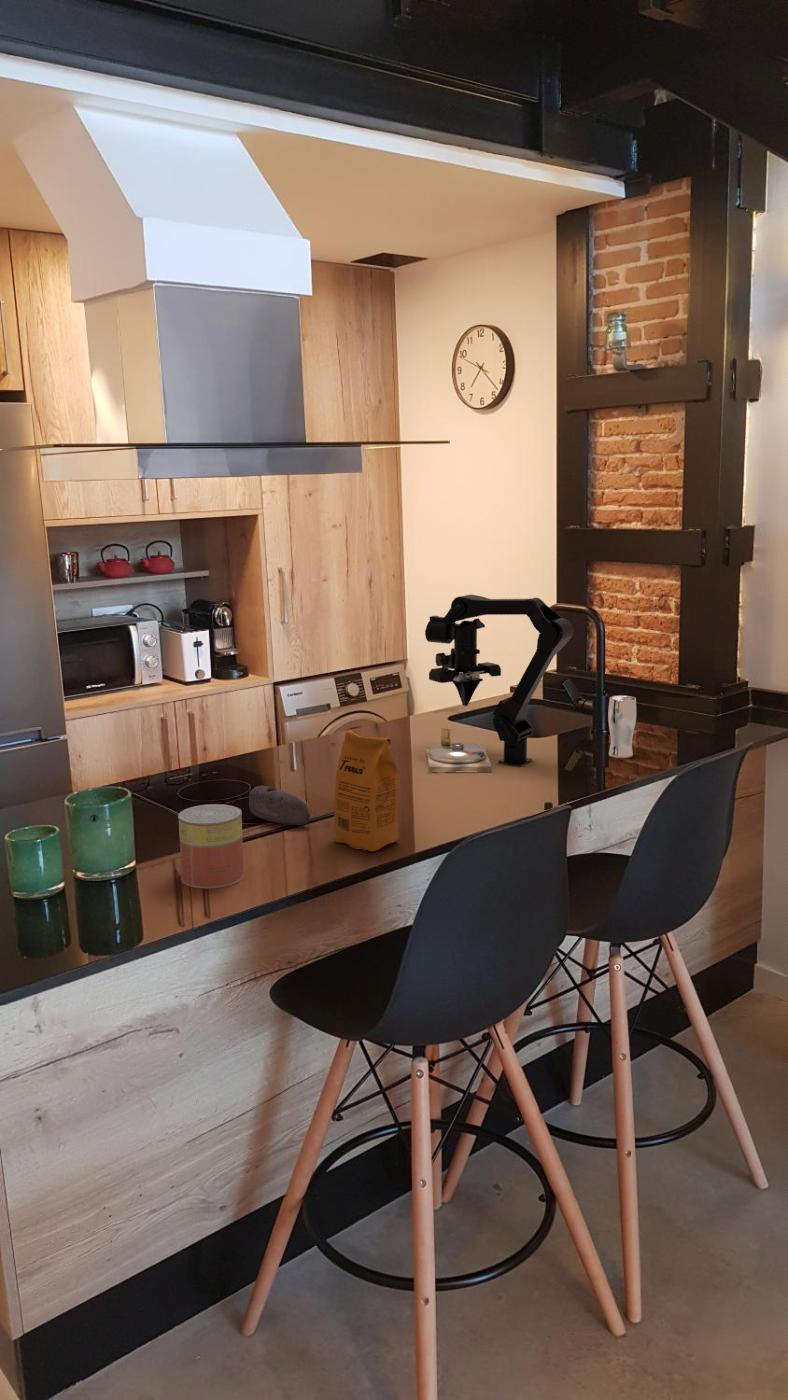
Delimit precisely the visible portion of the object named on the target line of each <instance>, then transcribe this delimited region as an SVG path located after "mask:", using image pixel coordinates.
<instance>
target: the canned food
mask: <svg viewBox="0 0 788 1400" xmlns="http://www.w3.org/2000/svg"><path fill="white" fill-rule="evenodd" d="M242 813H243V811H242V809H241V808H239V807H237V806H234V805H230V804H221V803H214V804H213V803H209V804H207V803H206V804H200V805H195V806H190V807H187V808H185V809H182V810H180V812H179V813H178V814H177V818H178V832H179V833H178V834H179V836H178V837H179V850H180V851H179V852H180V854H179V855H180V866H181V867H180V868H181V869H180V871H181V876H180V880H181V882H182V884H184V885H185V886H188V887H192V888H194V889H195V888H196V889H219V888H225V887H229V886H232V885H235V884H237V883H239V882H241V881H242V880H243V879H244V877H245V869H244V847H243V825H242V824H243V819H242Z"/></svg>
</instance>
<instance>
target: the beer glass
mask: <svg viewBox="0 0 788 1400" xmlns="http://www.w3.org/2000/svg"><path fill="white" fill-rule="evenodd" d="M607 711H608V712H607V713H608V716H607V717H608V719H607V721H608V728H609V734H610V746H609V751H608V756H610V757H611V758H616V759H630V758H632V757H633V755H634V753H633V743H632V742H633V737H634V731H635V727H636V722H637V698H636V697H635V696H631V695H630V696H629V695H612V696H610V697H609V701H608V710H607Z"/></svg>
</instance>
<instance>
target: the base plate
mask: <svg viewBox="0 0 788 1400" xmlns="http://www.w3.org/2000/svg"><path fill="white" fill-rule="evenodd" d="M425 753H426V754H427V755H426V760H428V761H427V766H428V773H429V772H456V771H477V772H476V773H492V764H491V761H490V759H489V756H488V754H487V753H486V758H485V759H483V760H481V761H477V762H471V763H445V762H440V761H436V760H433V759H432V758H430V748H426V752H425Z"/></svg>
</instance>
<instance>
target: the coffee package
mask: <svg viewBox="0 0 788 1400" xmlns="http://www.w3.org/2000/svg"><path fill="white" fill-rule="evenodd" d="M391 744H392V741H391V739H390V738H389V737H363V736H361V735H359V734H357V733H355V732H353V731H352V730H350V729H348V730H346V731H345V736H344V740H343V743H342V745H341V751H340V755H339V759H338V764H337V769H336V773H335V774H336V775H335V781H334V782H335V783H334V784H335V787H334V798H333V799H334V800H333V815H334V842H335V843H338V844H346V845H348V846H349V847H350V848H351V847H352V848H351V849H353V848H355V849H354V850H358V849H363V850H362V851H366V850H368V852H377V851H379V850H380V849H382V848H384V847H386V846H387V845H389V844H392V843H395V842H397V841H398V840H399V838H400V836H399V835H400V834H399V800H400V799H399V797H400V795H399V794H400V793H399V791H400V790H399V782H400V781H399V777H400V776H399V775H400V774H399V773H400V772H399V770H398V767H397V764H396V761H395V759H394V757H393V755H392V753H391V750H390V747H389V746H390V745H391ZM376 850H377V851H376Z"/></svg>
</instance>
